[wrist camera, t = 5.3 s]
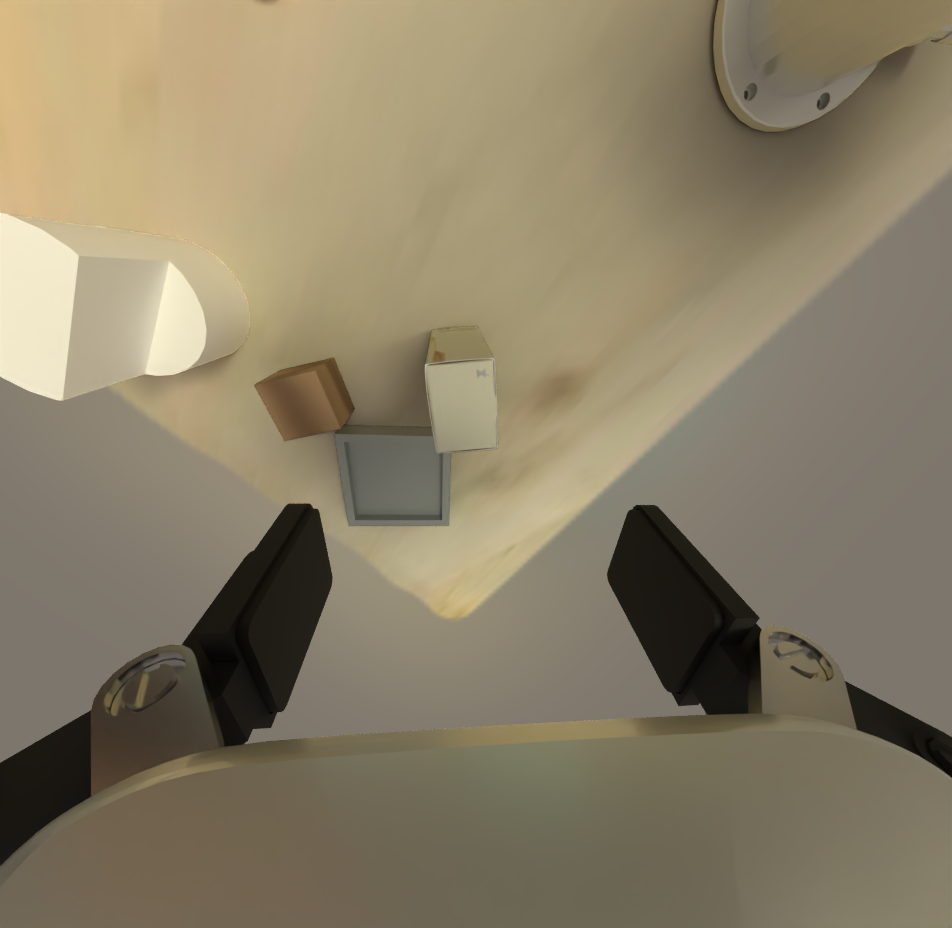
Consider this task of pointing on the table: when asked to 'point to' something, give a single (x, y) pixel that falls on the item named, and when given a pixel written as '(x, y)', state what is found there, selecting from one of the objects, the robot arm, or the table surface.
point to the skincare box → (461, 390)
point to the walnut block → (306, 399)
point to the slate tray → (393, 476)
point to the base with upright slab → (109, 306)
